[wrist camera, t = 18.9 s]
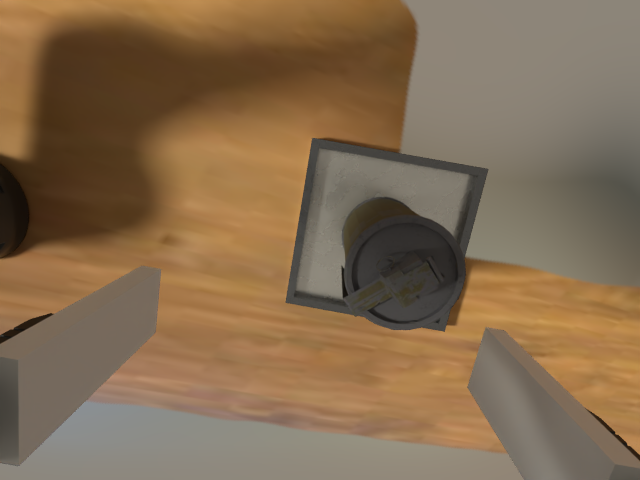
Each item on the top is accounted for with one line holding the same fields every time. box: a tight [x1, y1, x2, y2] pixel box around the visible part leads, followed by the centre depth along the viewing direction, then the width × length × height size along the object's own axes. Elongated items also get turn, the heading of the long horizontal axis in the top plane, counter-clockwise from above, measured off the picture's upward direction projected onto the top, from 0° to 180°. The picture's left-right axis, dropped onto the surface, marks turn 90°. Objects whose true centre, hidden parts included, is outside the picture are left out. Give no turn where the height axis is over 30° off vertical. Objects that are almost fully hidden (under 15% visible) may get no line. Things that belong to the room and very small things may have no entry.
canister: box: [341, 197, 466, 330], centre depth 38 cm, size 11×10×20 cm
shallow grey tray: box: [286, 138, 488, 332], centre depth 47 cm, size 22×22×2 cm
